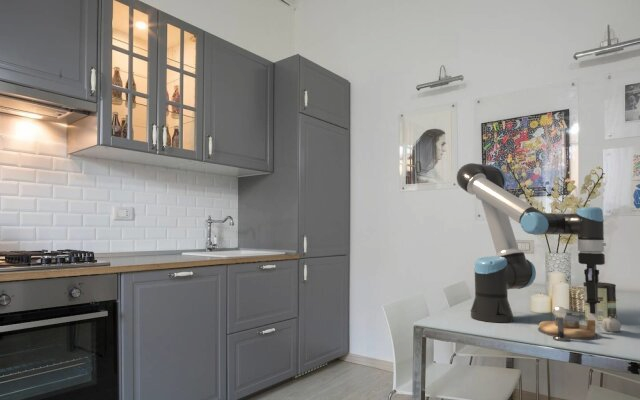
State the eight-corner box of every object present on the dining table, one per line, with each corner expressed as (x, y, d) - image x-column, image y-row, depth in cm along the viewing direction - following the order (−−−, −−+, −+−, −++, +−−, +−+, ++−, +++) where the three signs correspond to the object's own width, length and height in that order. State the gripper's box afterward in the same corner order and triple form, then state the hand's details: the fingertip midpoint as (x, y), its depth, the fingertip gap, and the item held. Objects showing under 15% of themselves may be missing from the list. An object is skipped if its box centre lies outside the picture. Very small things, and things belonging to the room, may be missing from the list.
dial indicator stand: (551, 339, 129) (550, 306, 130) (555, 335, 135) (555, 303, 135) (567, 342, 126) (567, 308, 127) (571, 337, 132) (570, 305, 132)
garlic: (612, 333, 137) (611, 318, 138) (597, 330, 142) (596, 314, 143) (625, 332, 139) (625, 317, 139) (610, 329, 144) (610, 313, 144)
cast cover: (553, 326, 138) (553, 309, 138) (557, 322, 143) (556, 306, 144) (577, 329, 133) (577, 312, 134) (580, 326, 139) (580, 309, 139)
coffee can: (609, 318, 161) (607, 282, 162) (622, 324, 151) (621, 285, 152) (579, 317, 163) (578, 281, 164) (591, 323, 153) (590, 284, 154)
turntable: (534, 332, 137) (534, 317, 137) (544, 323, 149) (544, 310, 149) (592, 340, 127) (591, 325, 127) (597, 331, 139) (597, 316, 139)
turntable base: (532, 333, 137) (532, 332, 137) (543, 324, 150) (543, 323, 150) (594, 342, 126) (594, 341, 126) (599, 332, 139) (599, 331, 139)
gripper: (602, 253, 133) (605, 328, 131) (606, 252, 143) (608, 321, 141) (575, 252, 137) (577, 324, 136) (580, 251, 148) (582, 317, 146)
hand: (593, 322), depth 139 cm, fingers closed
